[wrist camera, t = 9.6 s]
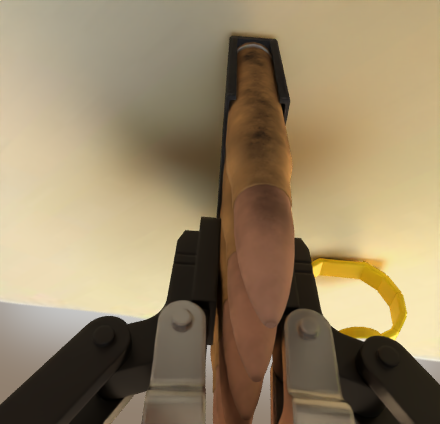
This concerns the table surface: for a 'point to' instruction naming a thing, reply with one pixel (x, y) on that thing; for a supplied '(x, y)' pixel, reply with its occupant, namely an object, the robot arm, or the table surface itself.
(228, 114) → the ammunition clip
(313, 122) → the table surface
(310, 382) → the robot arm
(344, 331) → the watch
